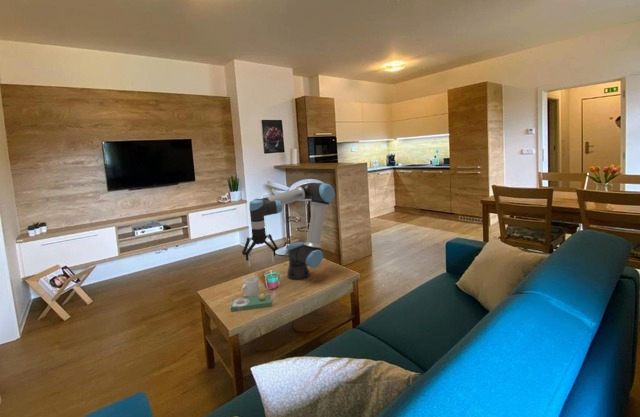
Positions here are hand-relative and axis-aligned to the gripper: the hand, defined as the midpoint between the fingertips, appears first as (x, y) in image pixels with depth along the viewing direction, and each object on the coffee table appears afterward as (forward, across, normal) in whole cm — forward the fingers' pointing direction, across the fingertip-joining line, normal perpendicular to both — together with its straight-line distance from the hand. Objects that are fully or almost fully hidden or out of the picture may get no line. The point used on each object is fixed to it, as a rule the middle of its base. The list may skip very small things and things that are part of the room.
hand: (261, 263), depth 193 cm
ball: (+18, +2, +5) cm, 19 cm away
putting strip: (+22, +8, +4) cm, 24 cm away
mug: (+22, +7, -7) cm, 24 cm away
